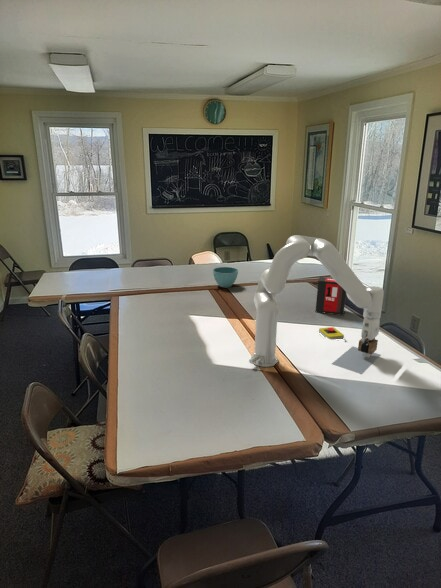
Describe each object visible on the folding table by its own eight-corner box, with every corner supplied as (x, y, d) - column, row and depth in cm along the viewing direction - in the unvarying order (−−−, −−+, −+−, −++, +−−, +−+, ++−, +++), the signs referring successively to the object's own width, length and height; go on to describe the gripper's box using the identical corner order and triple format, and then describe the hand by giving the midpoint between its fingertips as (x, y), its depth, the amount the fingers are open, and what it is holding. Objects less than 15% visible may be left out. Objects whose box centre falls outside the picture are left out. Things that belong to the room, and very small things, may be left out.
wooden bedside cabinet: (357, 350, 190) (359, 340, 188) (363, 345, 194) (364, 335, 192) (371, 354, 186) (372, 344, 184) (376, 349, 190) (377, 339, 189)
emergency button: (332, 323, 222) (347, 334, 208) (331, 331, 223) (346, 342, 210) (317, 325, 220) (331, 336, 206) (316, 332, 221) (330, 344, 207)
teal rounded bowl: (209, 283, 304) (209, 267, 300) (232, 281, 309) (233, 266, 305) (217, 290, 287) (217, 274, 283) (241, 288, 292) (241, 272, 289)
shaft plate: (361, 377, 175) (362, 365, 173) (330, 366, 184) (332, 355, 182) (380, 357, 193) (382, 347, 191) (352, 349, 201) (353, 338, 199)
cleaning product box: (344, 310, 253) (347, 279, 246) (343, 315, 245) (347, 283, 238) (317, 307, 258) (319, 276, 251) (315, 311, 250) (318, 280, 243)
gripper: (373, 321, 176) (368, 358, 181) (386, 310, 188) (381, 345, 194) (356, 317, 180) (352, 353, 186) (370, 306, 193) (366, 341, 198)
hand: (367, 349), depth 190 cm, fingers closed on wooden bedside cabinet, 6 cm apart
